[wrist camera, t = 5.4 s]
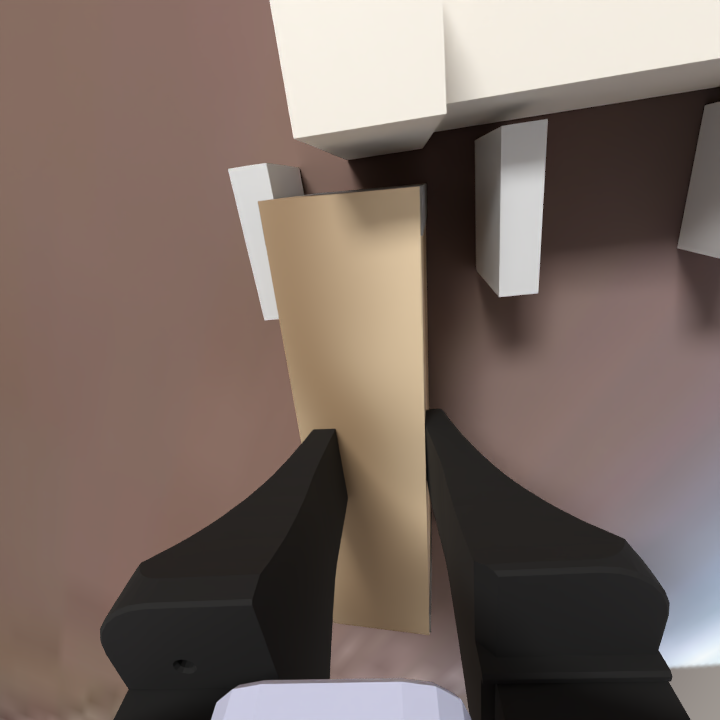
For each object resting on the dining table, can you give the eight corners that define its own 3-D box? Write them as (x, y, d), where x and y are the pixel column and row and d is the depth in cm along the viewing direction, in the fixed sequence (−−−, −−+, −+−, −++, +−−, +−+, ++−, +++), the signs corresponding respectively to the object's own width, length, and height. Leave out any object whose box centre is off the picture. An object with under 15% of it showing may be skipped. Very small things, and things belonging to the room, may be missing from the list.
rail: (426, 183, 13) (421, 186, 8) (432, 526, 19) (430, 635, 14) (316, 193, 13) (255, 201, 9) (356, 520, 19) (332, 622, 15)
